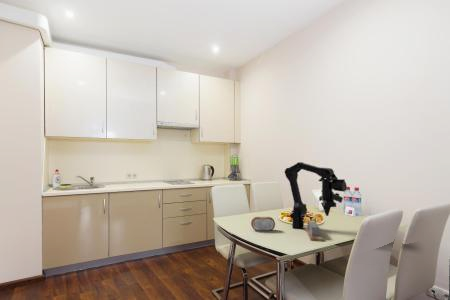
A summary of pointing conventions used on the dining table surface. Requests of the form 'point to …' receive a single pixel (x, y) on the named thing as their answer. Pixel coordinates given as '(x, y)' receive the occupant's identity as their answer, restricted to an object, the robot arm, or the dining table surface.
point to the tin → (263, 223)
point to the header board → (314, 238)
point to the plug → (313, 228)
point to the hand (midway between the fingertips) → (327, 215)
